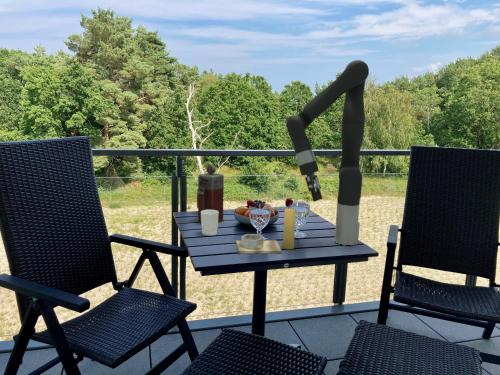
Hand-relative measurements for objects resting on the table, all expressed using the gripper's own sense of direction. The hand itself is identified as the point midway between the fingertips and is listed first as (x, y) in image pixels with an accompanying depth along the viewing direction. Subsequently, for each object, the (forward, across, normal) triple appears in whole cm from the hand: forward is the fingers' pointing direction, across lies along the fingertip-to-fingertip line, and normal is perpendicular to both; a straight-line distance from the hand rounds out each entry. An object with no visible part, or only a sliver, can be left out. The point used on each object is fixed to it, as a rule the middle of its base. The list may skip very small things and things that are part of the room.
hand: (318, 200), depth 179 cm
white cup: (+1, -2, +51) cm, 51 cm away
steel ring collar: (+10, -12, +29) cm, 33 cm away
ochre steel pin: (+15, -6, +16) cm, 23 cm away
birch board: (+12, -11, +27) cm, 32 cm away
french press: (-4, +16, +58) cm, 60 cm away
